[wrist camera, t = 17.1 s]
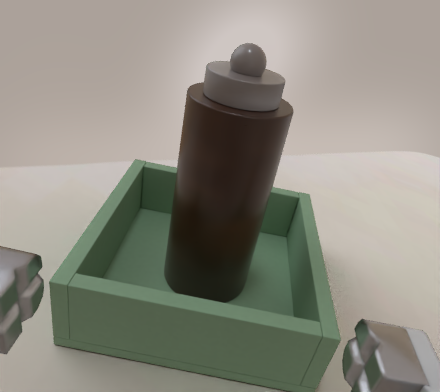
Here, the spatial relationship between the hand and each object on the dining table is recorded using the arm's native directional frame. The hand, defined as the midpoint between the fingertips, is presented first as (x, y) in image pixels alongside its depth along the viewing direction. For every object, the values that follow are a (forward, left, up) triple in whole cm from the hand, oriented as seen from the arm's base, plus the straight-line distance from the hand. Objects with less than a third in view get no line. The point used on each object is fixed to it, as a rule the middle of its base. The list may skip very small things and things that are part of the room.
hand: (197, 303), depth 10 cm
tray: (0, +11, -9) cm, 14 cm away
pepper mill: (0, +11, -9) cm, 14 cm away
